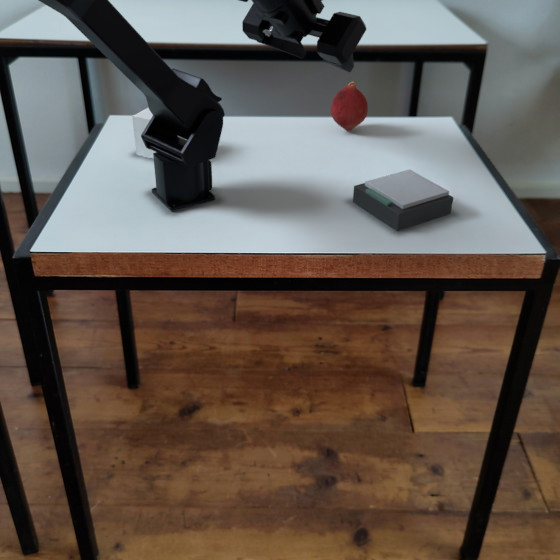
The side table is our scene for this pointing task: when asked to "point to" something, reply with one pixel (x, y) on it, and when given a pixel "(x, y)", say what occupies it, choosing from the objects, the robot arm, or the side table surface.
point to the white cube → (139, 125)
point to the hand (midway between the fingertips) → (327, 62)
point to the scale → (403, 199)
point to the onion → (349, 107)
